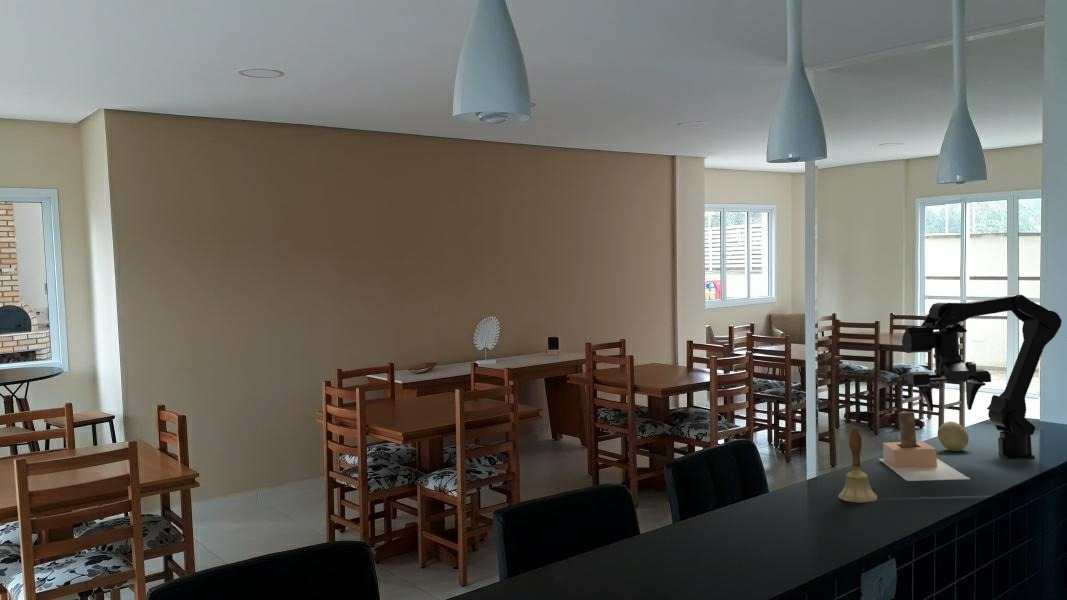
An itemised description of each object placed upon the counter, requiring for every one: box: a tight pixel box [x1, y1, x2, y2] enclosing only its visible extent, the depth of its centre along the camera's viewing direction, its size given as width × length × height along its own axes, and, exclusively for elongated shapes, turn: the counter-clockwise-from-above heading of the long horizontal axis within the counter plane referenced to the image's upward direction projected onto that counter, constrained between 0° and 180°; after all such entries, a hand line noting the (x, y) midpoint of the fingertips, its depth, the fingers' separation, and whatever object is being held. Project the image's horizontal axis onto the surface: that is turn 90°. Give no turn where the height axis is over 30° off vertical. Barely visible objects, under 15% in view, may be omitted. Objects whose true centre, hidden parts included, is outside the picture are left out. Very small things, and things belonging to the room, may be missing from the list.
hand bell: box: [838, 426, 879, 504], centre depth 178 cm, size 8×8×16 cm
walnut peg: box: [898, 411, 917, 448], centre depth 205 cm, size 4×4×13 cm
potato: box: [937, 421, 970, 452], centre depth 217 cm, size 8×8×8 cm
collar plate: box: [878, 440, 971, 482], centre depth 199 cm, size 14×24×5 cm, turn 171°
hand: (950, 410), depth 207 cm, fingers open, 9 cm apart
